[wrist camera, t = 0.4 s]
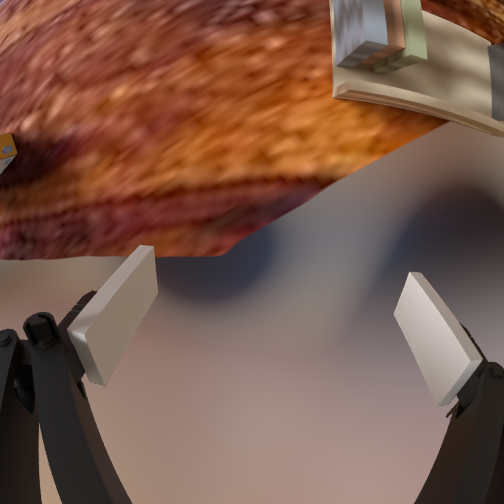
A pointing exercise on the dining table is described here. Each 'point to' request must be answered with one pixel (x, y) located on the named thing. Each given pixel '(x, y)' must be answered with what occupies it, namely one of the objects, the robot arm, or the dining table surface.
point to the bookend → (497, 80)
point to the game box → (6, 150)
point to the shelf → (431, 79)
